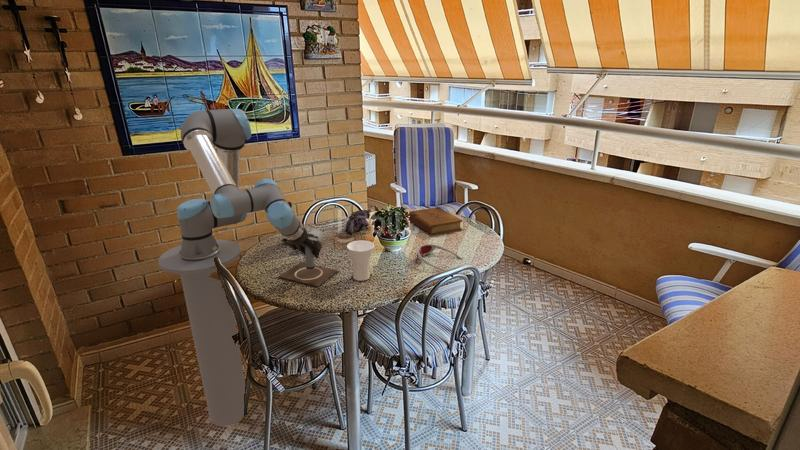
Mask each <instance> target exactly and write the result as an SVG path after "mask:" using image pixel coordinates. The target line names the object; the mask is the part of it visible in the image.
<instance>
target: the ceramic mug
mask: <svg viewBox="0 0 800 450" xmlns="http://www.w3.org/2000/svg"><path fill="white" fill-rule="evenodd" d="M307 233H308V235H310V236H311V237H312V238H313V237H315V236H317V237H318V240H319V242H320V244H322V243H323V242H324V237H325V236H324V233H323V232H322V231H321V230H320V229H317V228H316V229H311V230H310V231H308V232H307Z"/></svg>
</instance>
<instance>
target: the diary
mask: <svg viewBox="0 0 800 450" xmlns="http://www.w3.org/2000/svg"><path fill="white" fill-rule="evenodd" d="M409 215H410V217H409ZM408 221H409V222H411V223H412V224H413V225H415V226H417V227H418V228H419V229H421V230H422V231H423V232H425V233H426V234H428V235H429V236H431V237H433V236H438V235H445V234H449V233H455V232H461V231H462V229H463V228H462V227H461V223H463V219H461V218H460V217H457V216H456V215H455V214H452V213H451V212H448V211H446V210H445V209H443V208H442V207H440V206H436V207H431V208H424V209H418V210H417V209H416V210H411V211H409V212H408Z"/></svg>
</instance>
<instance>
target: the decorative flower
mask: <svg viewBox="0 0 800 450" xmlns="http://www.w3.org/2000/svg"><path fill="white" fill-rule="evenodd" d="M371 213H372V211H371V210H368V209H360V210H356V211H353V212H351V214H350V216H349V218H348V220H347V222H346V224H345V231H346V232H347V233H348V234H349V235H353V234H354V230H355V231H356V233H360V232H361V231H362V229H363V228H365V229H366V230H369V225H370V224H369V222H368V220H370V219H371V218H370V217H371Z"/></svg>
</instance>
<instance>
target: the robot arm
mask: <svg viewBox="0 0 800 450" xmlns="http://www.w3.org/2000/svg"><path fill="white" fill-rule="evenodd" d="M251 138H252V128H251V124H250V121H249V117H248V116H247V114H246V113H245V111H244V110H242V109H241V108H222V109H199V110H196V111H193V112H192V113H190V114H189V115H187V117H186V118H185V119H184V121H183V122H182V124H181V127H180V139H181V143H182V144H183V146H184V148H185V149H186V150H187V152H190V153H191V156H192V157H193V158H194V161H195V164H196V165H197V167H198V168H199V170H200V173H201V174H202V176H203V178H204V180H205V182H206V184H207V186H208V188H209V190H210V192H211V194H212V195H211V196H210V198H209V200H207V199H205V198H194V199H189V200H187V201H184V202H182V203H181V204H179V205H178V206H177V207H176V215H177V217H176V218H177V220H178V225H179V229H180V234H181V245H182V246H181V251H180V252H179V253H180V255H181V258H182V259H183V260H186V261H200V260H205V259H209V258H212V257H214V256H216V255H217V254H218V253H219V252H220V249H219V246H218V244H217V242H216V240H215V237H214V235H213V231H212V230H213V229H216V228H221V227H226V226H230V225H231V226H232V225H237V224H239V223H243V222H244V221H245V220H246V218H247V216H248V214H250V213H255V212H260V211H264V212H265V213H266V218H267V220H268V222H269V223H270V224H271V226H273V228H275V229H276V230H277V231H278V233H279V234H281V236H282V238H281V241H282V242H283V243H285V244H286V245H287V246H288V247H290V249H292V250H293V251H298V252H300V253H301V254H303V255H304V256H305V246H307V247H308V248H309V249H310V250H312V254H313V255H314V258H316V259H319V257H320V253H321V250H322V243H320V242H319V240H318V237H317V236H315V237H313V238H312V237H311V236H310V235H308V233H309V232H308V231H307V228H306V227H305V226H304V225H303V223H302V222H301V220H300V219H299V218H298V216H297V215H296V213H295V214H294V212H293V211H292V209H293V208H292V207H290V206H289V204H288V202H289V201H287V199H286V198H285V196H284V194H283V192H282V190H281V188H280V187H279V184H277V183H276V181H275V180H274V179H272V178H267V177H266V178H262V179H261V180H258V181H257V182H256V183H255V184H254V185H253V187H252V188H245V189H240V176H241V175H240V173H241V172H240V170H241V150H243V148H245V145H246V141H248V140H250V139H251Z"/></svg>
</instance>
